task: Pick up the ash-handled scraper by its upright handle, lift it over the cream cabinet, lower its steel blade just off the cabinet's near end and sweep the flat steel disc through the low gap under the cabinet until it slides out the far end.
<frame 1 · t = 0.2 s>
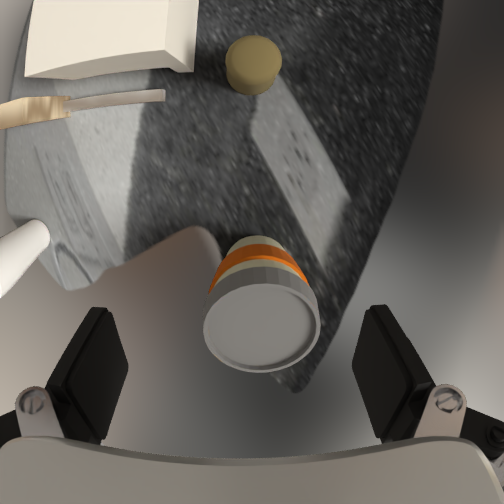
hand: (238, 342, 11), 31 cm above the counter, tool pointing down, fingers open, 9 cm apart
cabinet: (145, 7, 28), on the counter
reusable coffee cup: (256, 263, 45), on the counter
cork: (251, 72, 33), on the counter
scraper: (58, 108, 33), on the counter
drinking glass: (39, 233, 41), on the counter
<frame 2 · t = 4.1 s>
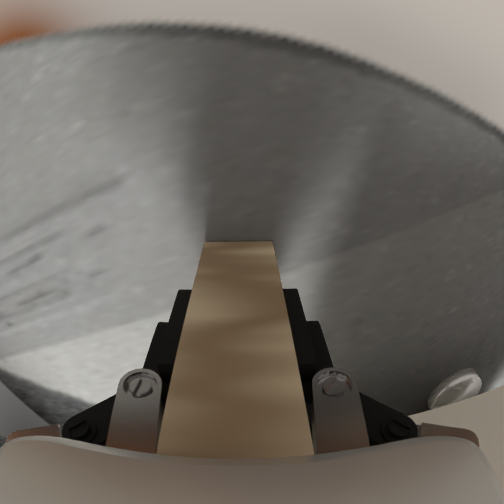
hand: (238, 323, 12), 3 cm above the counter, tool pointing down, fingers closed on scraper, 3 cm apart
cabinet: (405, 407, 20), on the counter
scraper: (239, 280, 15), on the counter, touching gripper
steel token: (451, 386, 20), on the counter
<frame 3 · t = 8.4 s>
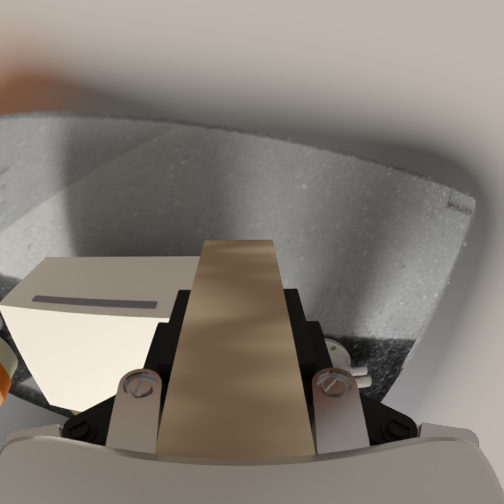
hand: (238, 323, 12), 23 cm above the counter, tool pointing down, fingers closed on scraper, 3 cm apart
cabinet: (144, 289, 38), on the counter
reusable coffee cup: (1, 350, 44), on the counter
scraper: (239, 279, 15), point 20 cm above the counter, touching gripper
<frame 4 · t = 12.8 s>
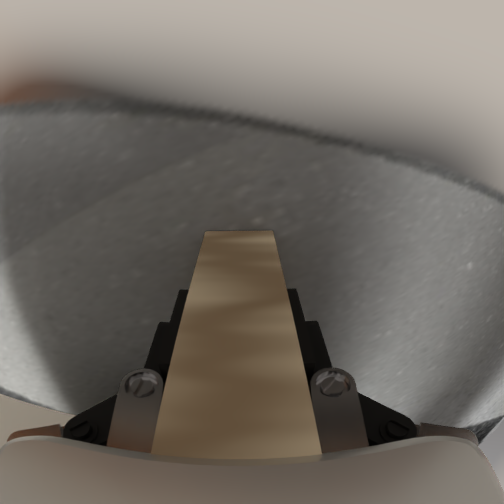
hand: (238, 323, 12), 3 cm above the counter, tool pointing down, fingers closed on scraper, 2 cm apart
cabinet: (171, 421, 20), on the counter
scraper: (239, 270, 15), on the counter, touching gripper, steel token
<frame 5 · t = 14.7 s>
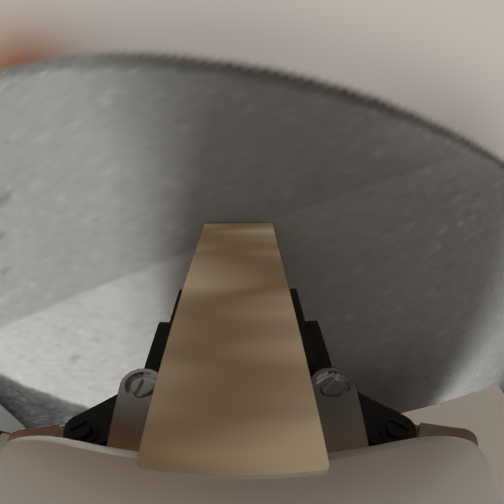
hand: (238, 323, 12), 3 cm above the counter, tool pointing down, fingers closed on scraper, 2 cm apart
cabinet: (319, 419, 21), on the counter
scraper: (238, 263, 15), on the counter, touching gripper, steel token
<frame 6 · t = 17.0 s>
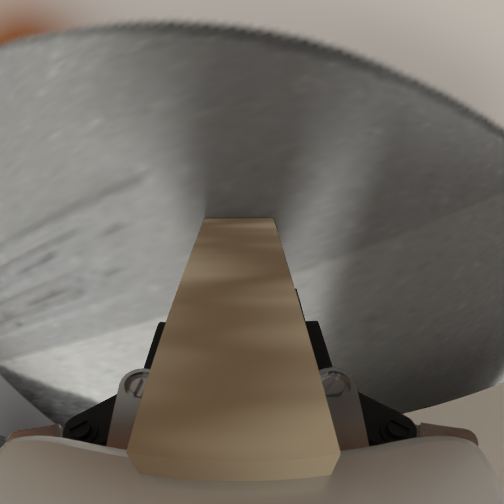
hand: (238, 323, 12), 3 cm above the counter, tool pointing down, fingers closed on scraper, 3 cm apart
cabinet: (414, 403, 21), on the counter
scraper: (239, 260, 14), on the counter, touching gripper
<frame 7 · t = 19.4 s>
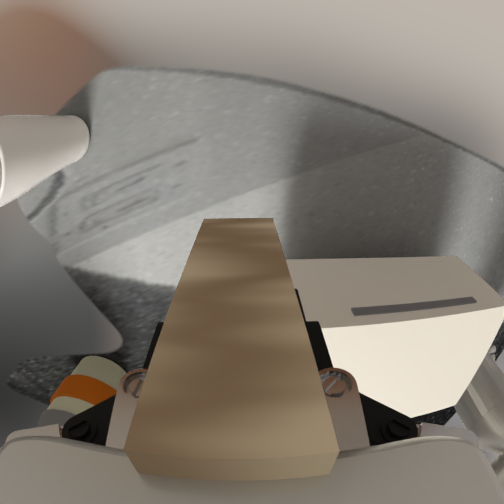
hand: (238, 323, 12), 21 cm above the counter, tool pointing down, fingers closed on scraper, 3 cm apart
cabinet: (356, 290, 37), on the counter
reusable coffee cup: (104, 374, 43), on the counter
scraper: (238, 260, 14), point 18 cm above the counter, touching gripper
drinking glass: (72, 138, 28), on the counter
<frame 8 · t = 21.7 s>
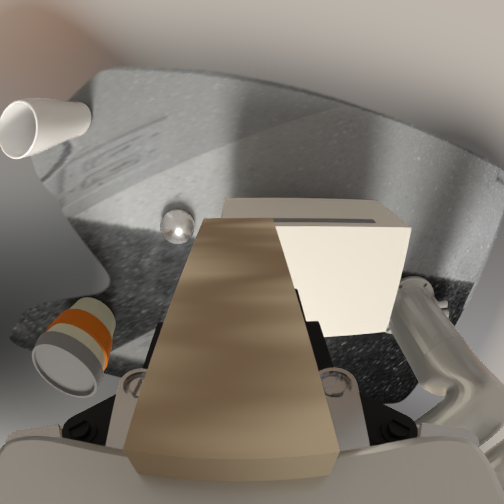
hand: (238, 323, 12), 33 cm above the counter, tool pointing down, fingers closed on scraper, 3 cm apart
cabinet: (295, 234, 46), on the counter
reusable coffee cup: (94, 316, 52), on the counter
scraper: (238, 260, 14), point 30 cm above the counter, touching gripper
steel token: (178, 224, 45), on the counter
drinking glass: (78, 119, 37), on the counter
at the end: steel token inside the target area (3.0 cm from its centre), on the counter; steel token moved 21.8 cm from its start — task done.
